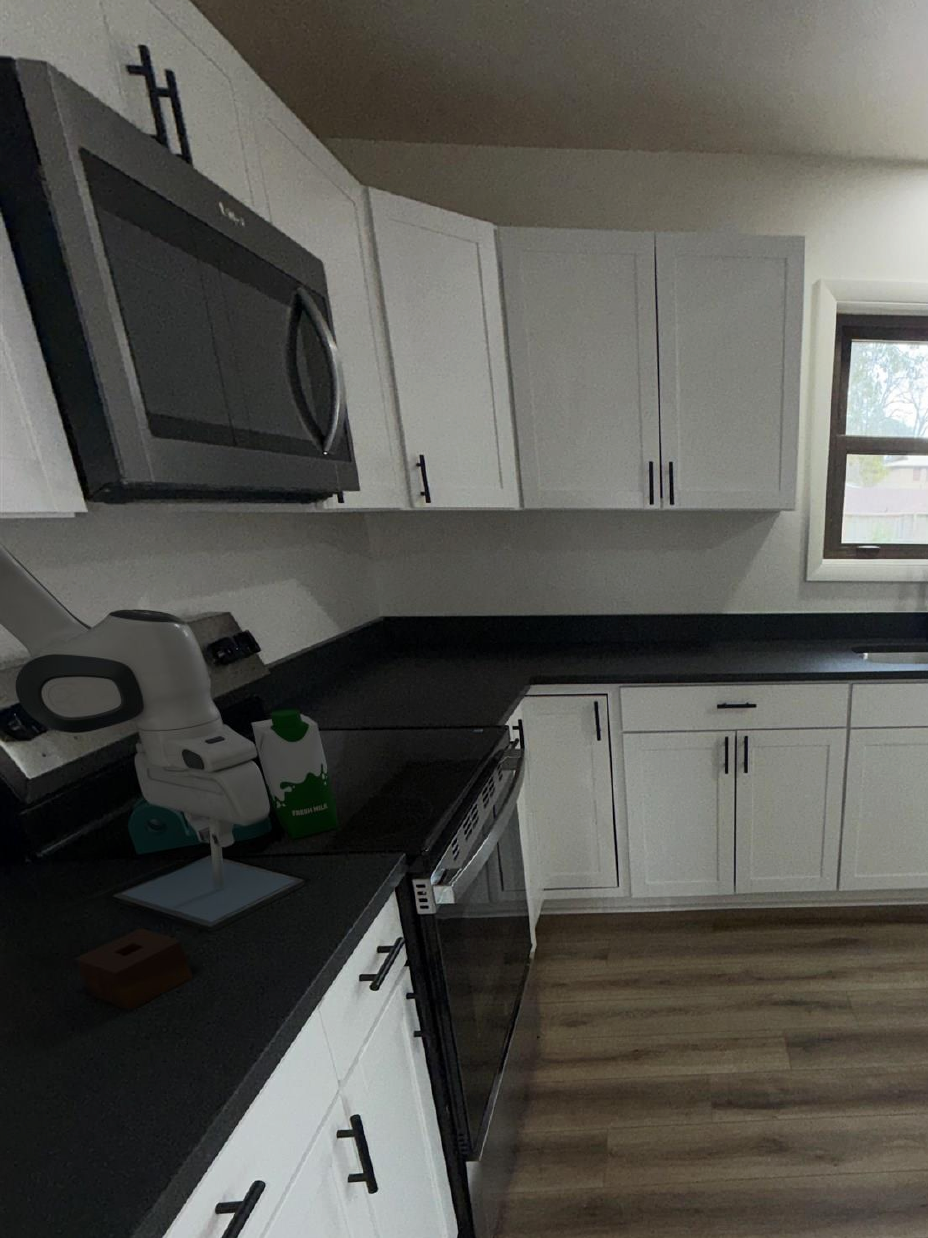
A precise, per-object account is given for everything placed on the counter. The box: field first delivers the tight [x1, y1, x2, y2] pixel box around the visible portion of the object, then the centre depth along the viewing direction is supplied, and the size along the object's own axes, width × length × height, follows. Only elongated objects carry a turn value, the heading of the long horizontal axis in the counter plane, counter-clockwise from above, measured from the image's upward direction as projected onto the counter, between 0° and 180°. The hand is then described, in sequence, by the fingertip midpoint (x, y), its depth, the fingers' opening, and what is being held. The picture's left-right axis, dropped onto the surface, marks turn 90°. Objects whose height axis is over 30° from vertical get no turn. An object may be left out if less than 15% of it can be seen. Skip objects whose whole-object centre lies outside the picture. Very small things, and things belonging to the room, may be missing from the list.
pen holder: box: [75, 927, 193, 1012], centre depth 87 cm, size 7×7×5 cm
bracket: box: [127, 795, 273, 856], centre depth 123 cm, size 18×7×8 cm, turn 119°
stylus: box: [209, 818, 224, 890], centre depth 104 cm, size 1×1×12 cm
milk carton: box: [251, 708, 340, 840], centre depth 125 cm, size 9×9×20 cm
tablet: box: [112, 854, 306, 933], centre depth 108 cm, size 20×14×1 cm
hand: (217, 843), depth 103 cm, fingers closed on stylus
